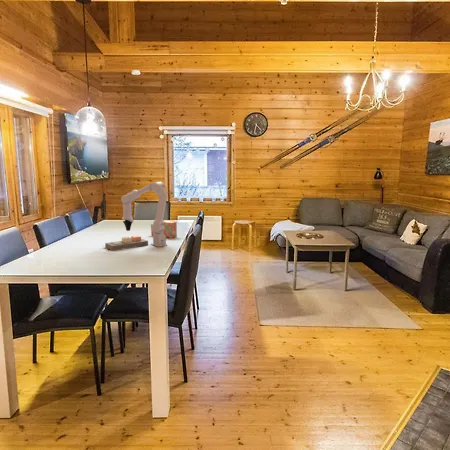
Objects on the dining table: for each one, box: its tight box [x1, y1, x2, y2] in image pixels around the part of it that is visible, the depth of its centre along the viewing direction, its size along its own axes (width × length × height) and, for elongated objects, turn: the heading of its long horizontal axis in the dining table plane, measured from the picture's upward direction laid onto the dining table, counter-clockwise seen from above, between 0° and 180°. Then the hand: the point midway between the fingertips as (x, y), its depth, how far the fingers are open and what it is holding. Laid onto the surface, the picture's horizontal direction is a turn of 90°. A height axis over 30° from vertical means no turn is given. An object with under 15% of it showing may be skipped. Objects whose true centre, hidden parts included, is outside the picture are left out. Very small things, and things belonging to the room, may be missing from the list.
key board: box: [104, 238, 149, 251], centre depth 244 cm, size 12×26×3 cm, turn 129°
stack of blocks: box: [150, 220, 178, 239], centre depth 279 cm, size 21×6×12 cm, turn 60°
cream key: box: [121, 236, 132, 243], centre depth 244 cm, size 5×5×3 cm
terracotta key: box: [130, 235, 142, 242], centre depth 248 cm, size 5×5×3 cm
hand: (128, 230), depth 252 cm, fingers closed
